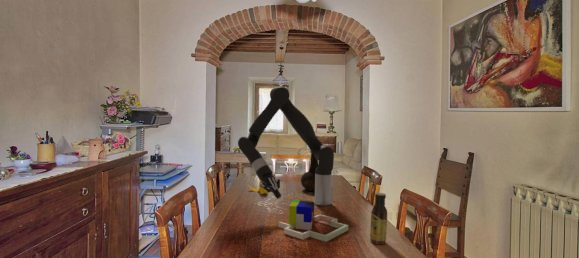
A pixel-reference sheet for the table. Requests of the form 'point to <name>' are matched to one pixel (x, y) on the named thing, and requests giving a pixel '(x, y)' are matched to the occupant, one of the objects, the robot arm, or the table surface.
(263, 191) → the banana peel
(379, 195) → the sauce bottle
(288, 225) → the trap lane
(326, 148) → the robot arm
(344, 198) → the table surface
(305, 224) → the puzzle toy
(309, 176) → the glass bottle
